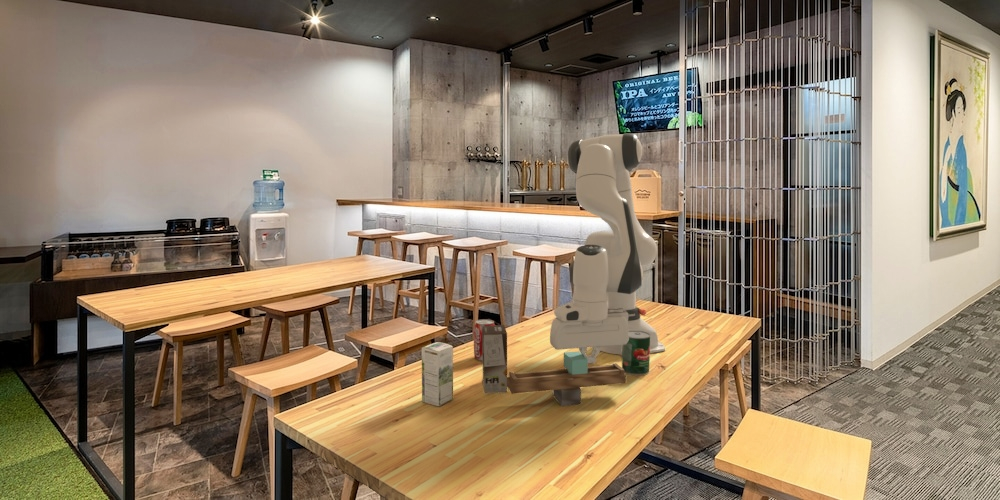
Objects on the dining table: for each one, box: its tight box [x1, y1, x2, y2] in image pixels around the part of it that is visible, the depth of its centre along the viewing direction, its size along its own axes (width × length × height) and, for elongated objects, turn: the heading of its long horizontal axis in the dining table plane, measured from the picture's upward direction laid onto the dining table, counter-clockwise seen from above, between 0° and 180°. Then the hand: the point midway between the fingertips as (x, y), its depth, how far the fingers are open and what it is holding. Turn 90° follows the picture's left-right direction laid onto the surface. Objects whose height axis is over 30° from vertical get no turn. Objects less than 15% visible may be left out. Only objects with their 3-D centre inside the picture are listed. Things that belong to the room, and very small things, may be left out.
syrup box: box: [421, 341, 454, 407], centre depth 136 cm, size 6×6×14 cm
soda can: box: [473, 318, 495, 362], centre depth 169 cm, size 7×7×12 cm
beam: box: [507, 363, 627, 407], centre depth 136 cm, size 30×7×8 cm, turn 102°
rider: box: [563, 351, 589, 375], centre depth 136 cm, size 4×6×5 cm, turn 12°
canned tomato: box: [621, 330, 651, 376], centre depth 157 cm, size 8×8×11 cm
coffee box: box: [482, 324, 508, 394], centre depth 145 cm, size 9×6×16 cm
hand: (589, 363), depth 137 cm, fingers closed
